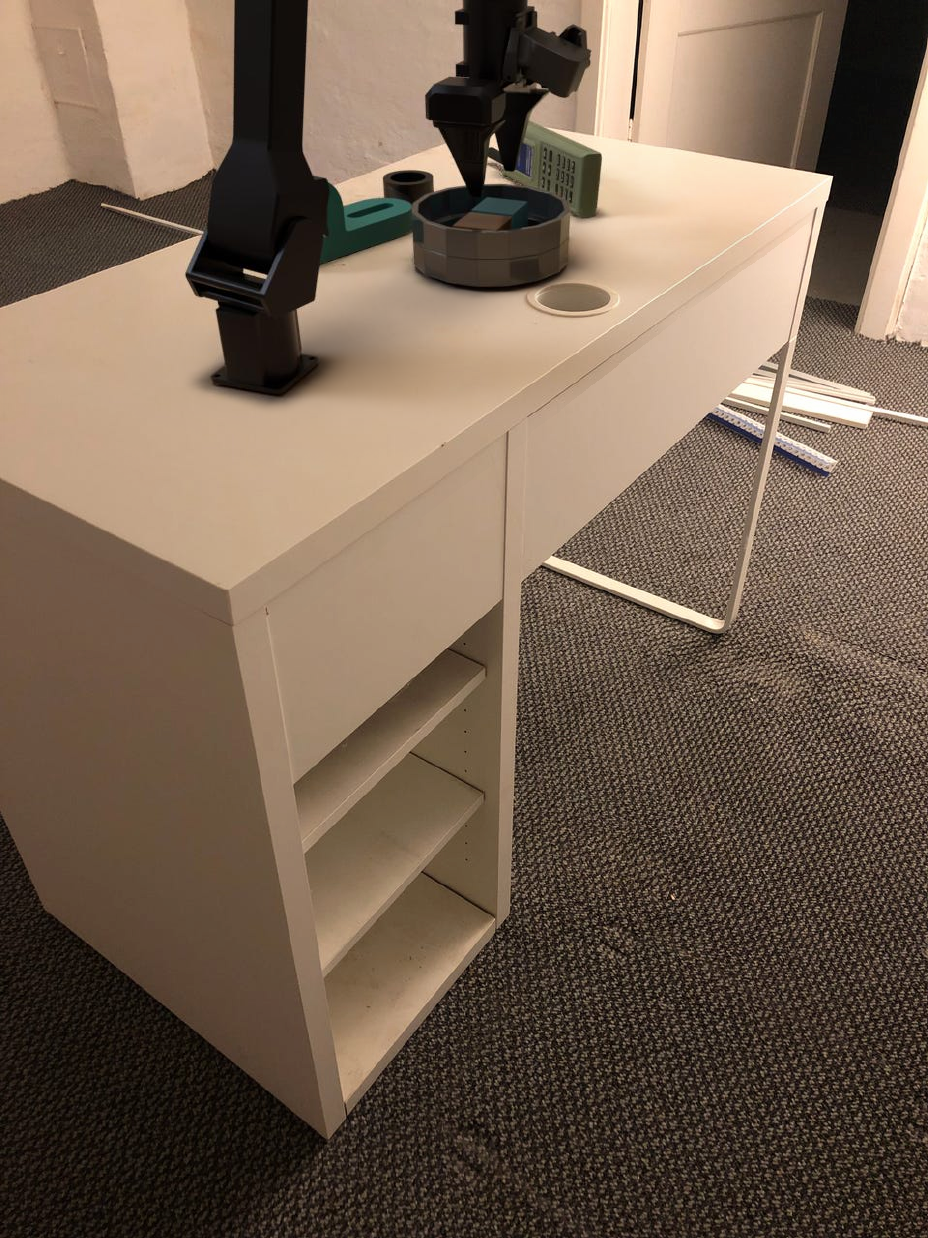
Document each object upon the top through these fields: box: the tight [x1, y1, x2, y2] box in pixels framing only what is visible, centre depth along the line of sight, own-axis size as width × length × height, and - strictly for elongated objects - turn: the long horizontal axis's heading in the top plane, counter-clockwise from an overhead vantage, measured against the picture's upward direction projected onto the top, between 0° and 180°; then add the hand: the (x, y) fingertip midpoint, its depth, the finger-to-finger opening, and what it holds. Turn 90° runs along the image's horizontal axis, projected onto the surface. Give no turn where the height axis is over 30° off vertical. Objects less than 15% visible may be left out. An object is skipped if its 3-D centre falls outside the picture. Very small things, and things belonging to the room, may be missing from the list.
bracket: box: [320, 181, 413, 265], centre depth 103 cm, size 18×7×8 cm, turn 136°
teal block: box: [471, 197, 528, 229], centre depth 100 cm, size 4×4×4 cm
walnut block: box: [453, 212, 512, 230], centre depth 96 cm, size 4×4×4 cm
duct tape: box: [382, 169, 435, 205], centre depth 114 cm, size 8×10×3 cm
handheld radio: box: [488, 120, 603, 219], centre depth 117 cm, size 7×3×25 cm
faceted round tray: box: [411, 183, 572, 288], centre depth 98 cm, size 15×15×6 cm
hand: (493, 183), depth 97 cm, fingers open, 9 cm apart
